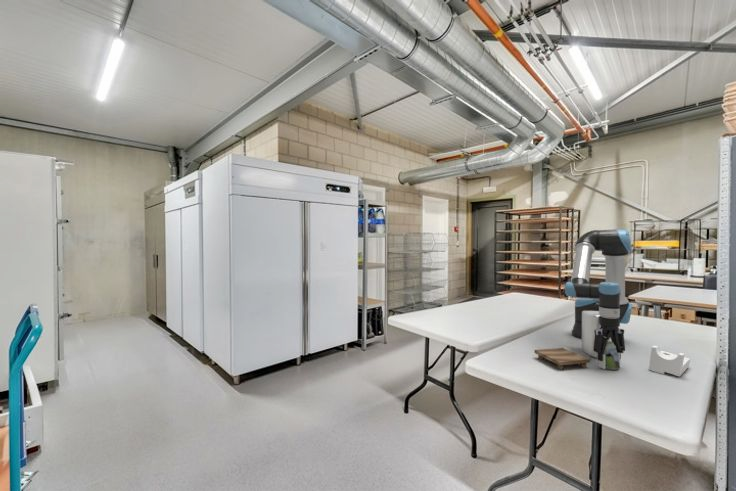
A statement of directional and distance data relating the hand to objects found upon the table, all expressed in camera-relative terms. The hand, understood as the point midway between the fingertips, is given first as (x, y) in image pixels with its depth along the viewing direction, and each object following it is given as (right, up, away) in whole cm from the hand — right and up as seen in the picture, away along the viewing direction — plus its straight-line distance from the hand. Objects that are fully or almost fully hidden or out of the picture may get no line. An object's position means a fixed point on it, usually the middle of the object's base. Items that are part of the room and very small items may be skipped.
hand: (609, 366), depth 143 cm
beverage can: (0, -1, 0) cm, 1 cm away
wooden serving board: (-18, -1, +7) cm, 19 cm away
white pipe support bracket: (+26, -1, -1) cm, 26 cm away
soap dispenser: (+7, 0, +17) cm, 18 cm away
